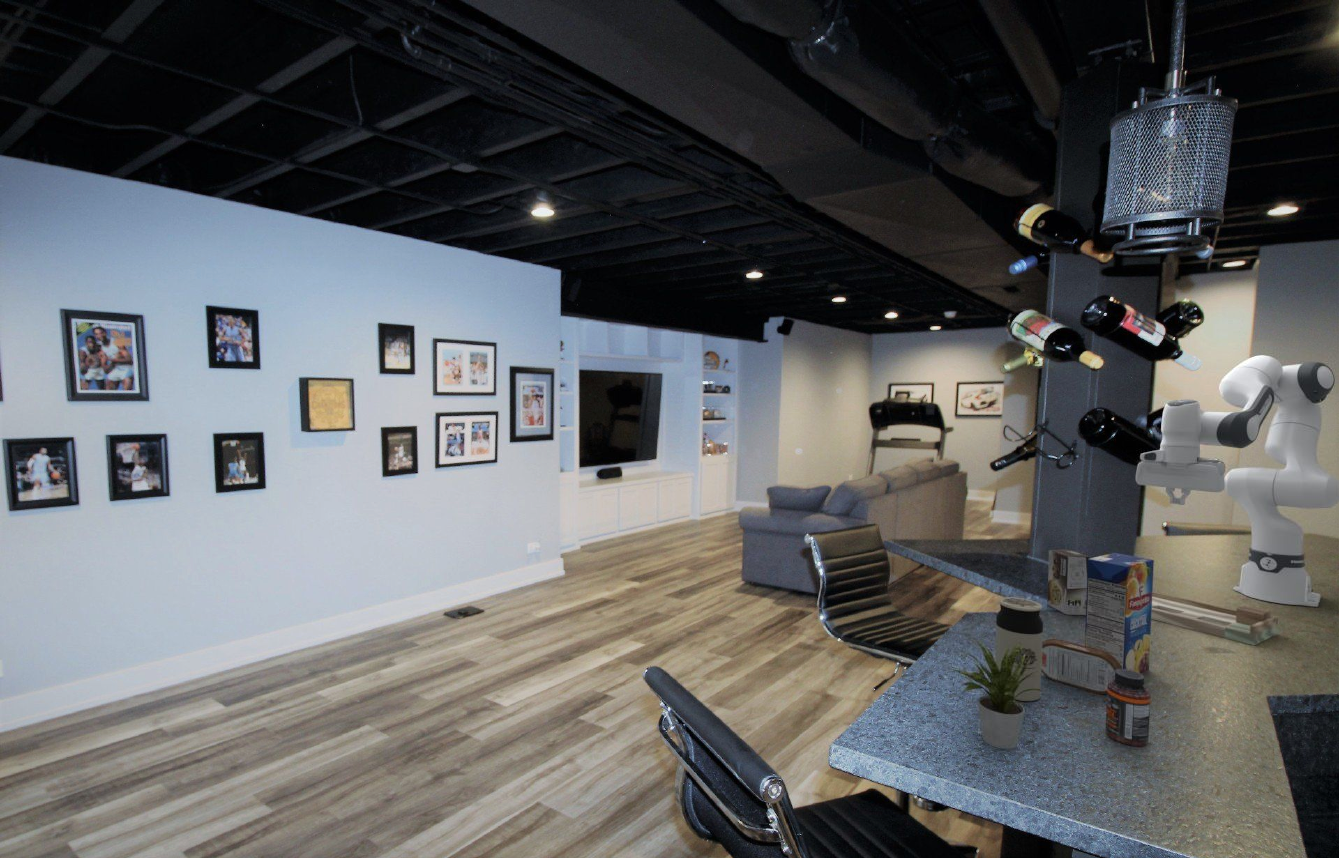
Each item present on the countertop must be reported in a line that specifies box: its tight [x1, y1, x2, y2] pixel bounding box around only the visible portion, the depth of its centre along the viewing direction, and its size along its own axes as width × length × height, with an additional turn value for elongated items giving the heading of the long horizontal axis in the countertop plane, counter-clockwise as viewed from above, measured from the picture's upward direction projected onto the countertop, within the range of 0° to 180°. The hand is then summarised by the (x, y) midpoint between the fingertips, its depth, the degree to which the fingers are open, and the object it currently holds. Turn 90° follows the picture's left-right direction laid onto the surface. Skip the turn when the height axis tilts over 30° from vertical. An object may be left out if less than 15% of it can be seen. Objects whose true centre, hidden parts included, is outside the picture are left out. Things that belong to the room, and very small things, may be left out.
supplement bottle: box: [1105, 669, 1151, 747], centre depth 106 cm, size 6×6×11 cm
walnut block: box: [1235, 605, 1271, 626], centre depth 157 cm, size 5×5×4 cm
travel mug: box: [994, 596, 1044, 702], centre depth 122 cm, size 8×8×18 cm
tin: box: [1041, 638, 1122, 695], centre depth 126 cm, size 15×3×8 cm, turn 44°
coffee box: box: [1047, 549, 1092, 616], centre depth 174 cm, size 9×6×16 cm
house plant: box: [952, 638, 1046, 750], centre depth 106 cm, size 14×14×16 cm
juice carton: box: [1084, 552, 1155, 675], centre depth 134 cm, size 12×8×24 cm, turn 122°
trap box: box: [1151, 591, 1279, 646], centre depth 166 cm, size 15×29×4 cm, turn 30°
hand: (1177, 504), depth 179 cm, fingers closed
